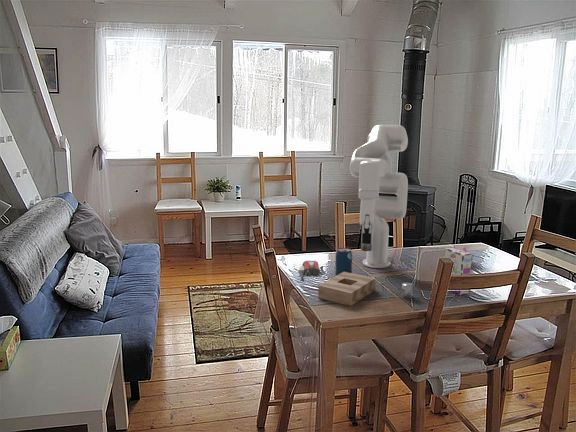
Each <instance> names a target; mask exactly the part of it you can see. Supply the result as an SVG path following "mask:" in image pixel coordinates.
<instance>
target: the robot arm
mask: <svg viewBox="0 0 576 432" xmlns="http://www.w3.org/2000/svg"><path fill="white" fill-rule="evenodd" d="M408 137H409V136H408V134H407V131H406V128H405V127H404V126H403V125H400V124H376V125H374V126H373V127H372V128H371V131H370V133H369V134H368V135H367V138H366V139H367V142H366V143H365V144H363V145H361V146H359V147H357V148H356V149H355V150H354V152H353V153H352V156H351V158H350V163H349V173H350V175H351V176H352V177H354V178H358V198H357V199H359V200H360V205H359V206H360V207H359V225H360V226H362V225H363V233H362V232H361V238H362V243H363V244H370V243H371V233H370V232H371V226H372V225H373V231H372V250H371V251H366V256H365V257H366V258H364V259H363V260H362V265H364V266H365V267H368V268H373V269H386V268H389V267H390V266H391V261H390V260H388V257H389V256H390V252H389V251H388V250H389V235H390V234H389V232H390V228H389V224H388V222H387V221H386V219H395V220H397V219H399V220H400V219H403V218H405V217H406V214H407V207H408V206H407V205H408V192H409V191H408V188H409V181H408V176H407V174H405V173H403V172H396V171H395V172H393V170H392V168H393V160H392V158H391V156H390V155H389V154H388V152H399V153H401V152H404V151H406V149H407V148H408V144H409V139H408ZM379 194H389V195H390V194H391V195H392V194H393V195H396V196H388V195H387V196H386V195H384V196H383V195H379ZM364 223H365V225H364ZM369 224H370V225H369ZM364 232H365V233H364Z"/></svg>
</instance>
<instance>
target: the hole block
mask: <svg viewBox="0 0 576 432" xmlns="http://www.w3.org/2000/svg"><path fill="white" fill-rule="evenodd" d="M317 287H318V290H317V298H318V299H322V300H325V301H330V302H333V303H337V304H341V305H345V306H349V307H352V306H353V305H355V304H356V303H358V302H360V301H361V300H363V299H364V298H366V297H367V296H368V295H370V294H372V293H373V292H375V290H376V278H375V277H372V276H367V275H362V274H358V273H354V272H352V273H348V272H342V273H340V274H339V275H337V276H336V275H335V276H334V277H331V278H330V279H328V280H326V281H324V282H322V283H320V284H318V286H317Z"/></svg>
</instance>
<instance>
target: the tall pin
mask: <svg viewBox="0 0 576 432" xmlns="http://www.w3.org/2000/svg"><path fill="white" fill-rule="evenodd" d="M364 225H365V223H364ZM369 225H370V224H369ZM372 231H373V225H372V226H371V232H370V233H371V243H370V244H363V243H362V237H361V239H360V240H361V241H360V242H361V245H360V250H361V251H363V252H367V251H371V250H372ZM362 233H363V225H362V224H361V234H362ZM364 233H365V232H364Z"/></svg>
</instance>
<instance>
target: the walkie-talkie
mask: <svg viewBox="0 0 576 432" xmlns="http://www.w3.org/2000/svg"><path fill="white" fill-rule="evenodd" d="M298 275H300V279H302V280H303V279H304V276H305V275H306V276H316V275H317V276H318V275H320V267H319V262H318V261H316V260H304V261H303V262H302V265H301V266H300V267H299V269H298Z"/></svg>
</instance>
